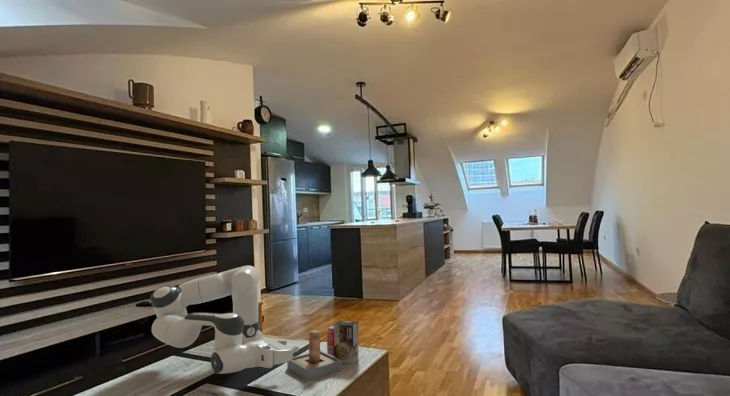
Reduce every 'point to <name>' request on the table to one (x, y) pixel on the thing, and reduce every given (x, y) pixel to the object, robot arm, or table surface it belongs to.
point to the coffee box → (346, 341)
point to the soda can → (330, 340)
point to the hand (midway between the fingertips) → (291, 345)
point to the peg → (314, 347)
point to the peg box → (314, 366)
